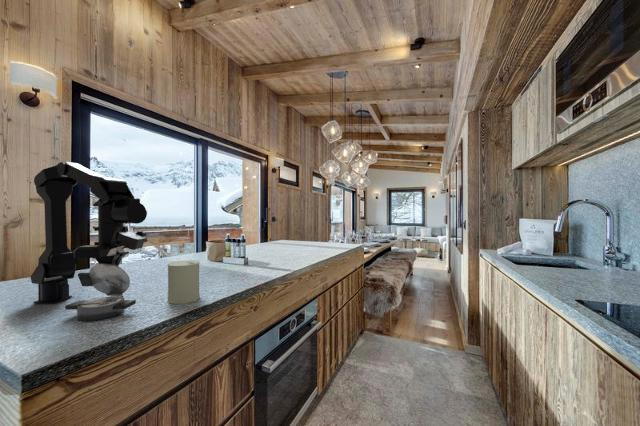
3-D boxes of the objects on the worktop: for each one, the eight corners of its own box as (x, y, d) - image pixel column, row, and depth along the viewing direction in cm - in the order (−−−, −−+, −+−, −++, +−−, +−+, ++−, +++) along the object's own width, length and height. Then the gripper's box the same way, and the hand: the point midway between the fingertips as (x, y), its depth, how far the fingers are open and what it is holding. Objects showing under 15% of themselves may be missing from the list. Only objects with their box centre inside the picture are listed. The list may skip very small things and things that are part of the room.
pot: (55, 322, 70) (55, 308, 70) (91, 307, 82) (91, 295, 82) (118, 321, 71) (118, 307, 71) (144, 306, 82) (144, 294, 82)
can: (187, 305, 84) (187, 264, 84) (160, 303, 85) (160, 263, 85) (205, 296, 93) (205, 259, 93) (181, 294, 94) (181, 258, 94)
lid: (73, 264, 75) (76, 261, 77) (86, 296, 80) (89, 293, 81) (122, 264, 76) (125, 261, 77) (133, 296, 80) (135, 293, 82)
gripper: (118, 224, 70) (118, 287, 70) (158, 221, 89) (158, 270, 89) (71, 224, 69) (72, 287, 70) (121, 221, 88) (122, 271, 88)
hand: (111, 278), depth 79 cm, fingers closed
